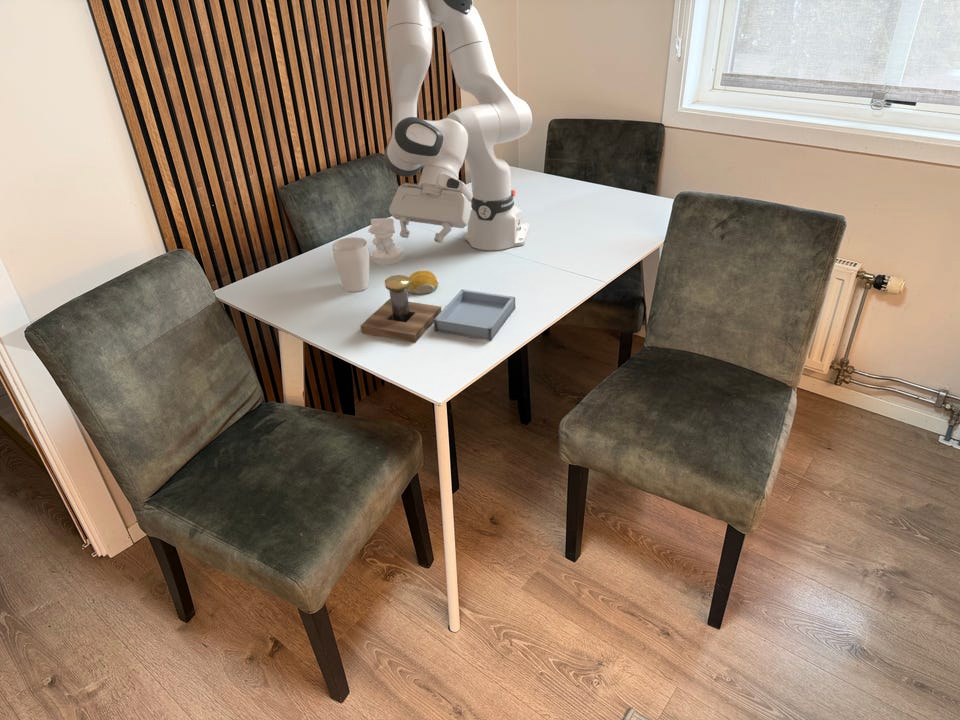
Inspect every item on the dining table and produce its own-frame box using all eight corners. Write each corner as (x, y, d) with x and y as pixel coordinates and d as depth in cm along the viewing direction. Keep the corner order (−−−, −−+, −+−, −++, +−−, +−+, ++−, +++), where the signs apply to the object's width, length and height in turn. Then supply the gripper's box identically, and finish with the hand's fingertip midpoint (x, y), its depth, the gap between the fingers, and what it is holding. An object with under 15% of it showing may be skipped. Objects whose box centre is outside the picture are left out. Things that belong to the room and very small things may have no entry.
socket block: (390, 305, 165) (389, 298, 164) (441, 313, 161) (441, 306, 160) (361, 333, 155) (360, 325, 154) (415, 342, 150) (414, 334, 149)
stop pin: (397, 316, 161) (391, 273, 155) (418, 319, 159) (413, 276, 153) (386, 327, 156) (380, 284, 150) (407, 330, 155) (402, 287, 149)
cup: (336, 283, 178) (328, 240, 172) (369, 276, 180) (363, 234, 174) (342, 297, 171) (335, 253, 164) (377, 290, 173) (371, 247, 167)
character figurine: (370, 265, 187) (364, 224, 180) (375, 251, 195) (369, 211, 188) (401, 264, 186) (396, 223, 180) (405, 250, 194) (400, 210, 188)
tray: (462, 300, 166) (461, 289, 165) (515, 308, 161) (515, 297, 160) (434, 331, 154) (433, 319, 152) (491, 340, 149) (490, 328, 147)
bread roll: (434, 278, 178) (433, 264, 176) (440, 292, 171) (439, 278, 169) (404, 282, 177) (402, 268, 175) (408, 297, 169) (407, 283, 167)
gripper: (394, 175, 161) (377, 228, 159) (469, 183, 153) (453, 239, 151) (405, 188, 167) (389, 239, 165) (479, 196, 159) (463, 250, 157)
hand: (420, 239), depth 158 cm, fingers open, 8 cm apart
